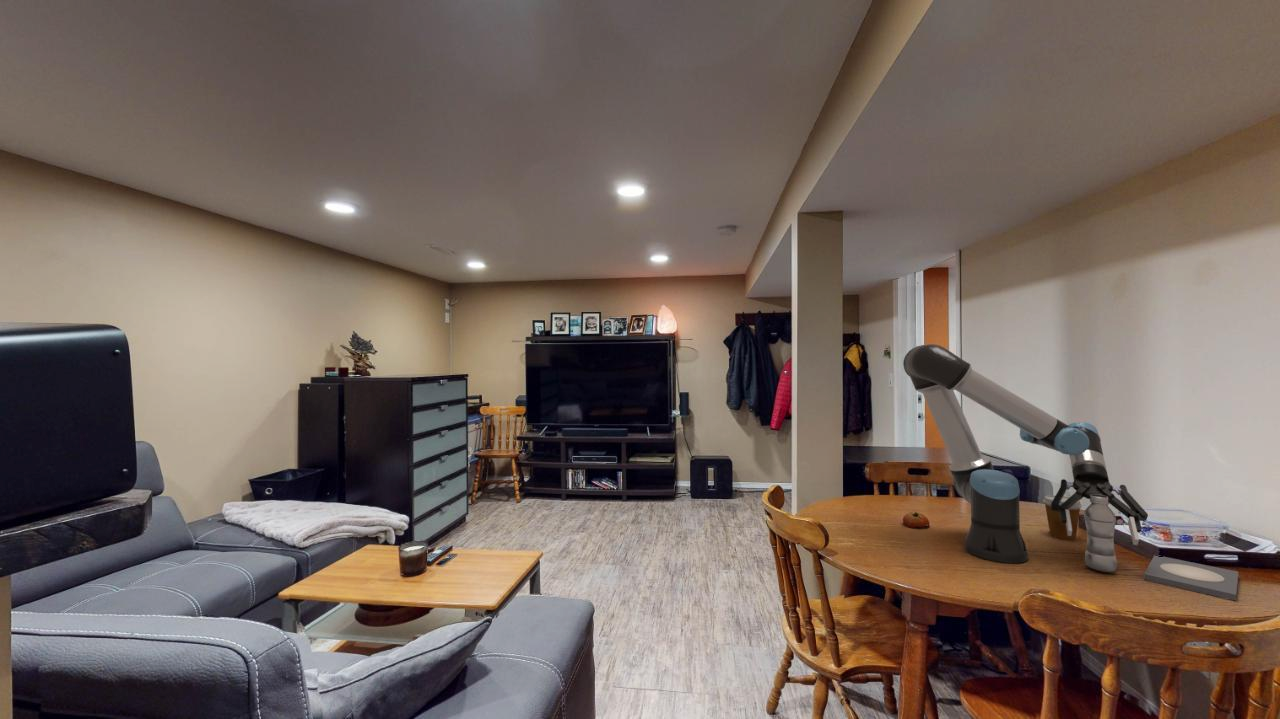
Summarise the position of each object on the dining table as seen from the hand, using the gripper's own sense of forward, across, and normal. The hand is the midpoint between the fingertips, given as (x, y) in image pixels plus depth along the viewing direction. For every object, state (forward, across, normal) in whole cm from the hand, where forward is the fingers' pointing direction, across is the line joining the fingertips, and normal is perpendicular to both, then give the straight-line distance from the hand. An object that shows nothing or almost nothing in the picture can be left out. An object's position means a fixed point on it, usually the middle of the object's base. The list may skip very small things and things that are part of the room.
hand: (1102, 537), depth 130 cm
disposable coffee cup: (-15, +4, -29) cm, 33 cm away
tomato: (-6, +45, -20) cm, 50 cm away
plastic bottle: (+5, 0, -9) cm, 10 cm away
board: (+1, -18, -12) cm, 22 cm away
